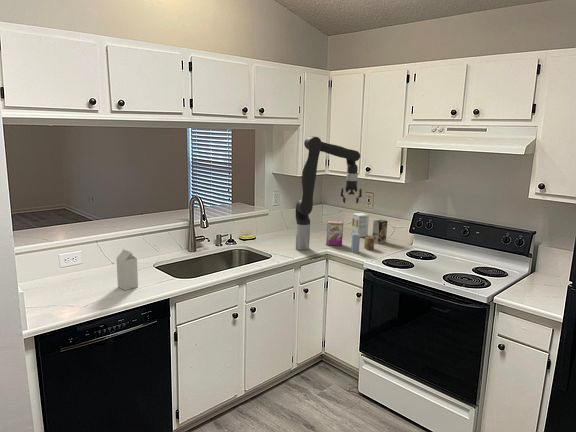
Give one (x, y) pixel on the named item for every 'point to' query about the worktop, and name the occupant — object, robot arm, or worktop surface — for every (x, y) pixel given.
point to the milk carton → (127, 270)
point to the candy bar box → (334, 233)
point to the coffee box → (379, 231)
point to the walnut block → (369, 243)
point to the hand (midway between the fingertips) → (350, 203)
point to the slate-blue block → (355, 243)
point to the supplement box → (360, 224)
